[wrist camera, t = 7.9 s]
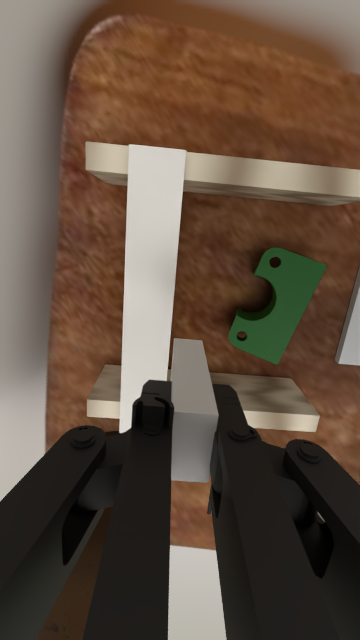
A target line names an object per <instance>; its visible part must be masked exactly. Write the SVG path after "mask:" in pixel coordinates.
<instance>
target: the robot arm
mask: <svg viewBox="0 0 360 640" xmlns="http://www.w3.org/2000/svg"><path fill="white" fill-rule="evenodd" d="M210 473H211V481H212V484H211V490H210V497H209V504H208V511H207V514H211V510H212V518H213V527H214V535H215V544H216V552H217V560H218V569H219V578H220V586H221V595H222V603H223V612H224V620H225V629H226V637H227V640H360V485H359V484H358V483H357V482H356V481H355V480H354V479H353V478H352V477H351V476H350V475H349V474H348V473H347V472H346V471H345V470H344V469H343V468H342V467H341V466H340V465H339V464H338V463H337V462H336V461H335V460H334V459H333V457H332V456H331V455H330V454H329V453H328V452H327V451H325V450H324V449H323V448H322V447H320V446H319V445H317V444H315V443H313V442H310V441H307V440H301V439H295V440H292V441H289V442H288V444H287V445H286V449H284V448H280V447H277V446H274V445H271V444H268V443H265V442H263V441H262V440H261V438H260V435H259V434H258V432H257V431H256V430H255V429H254V428H252V427H251V426H249V425H248V423H247V420H246V417H245V414H244V412H243V409H242V406H241V403H240V400H239V398H238V395H237V392H236V391H235V390H234V389H233V388H232V387H231V386H230V385H225V384H212V383H211V378H210V374H209V369H208V365H207V360H206V355H205V351H204V346H203V342H202V340H191V339H178V338H174V345H173V356H172V367H171V378H170V381H161V380H148V381H147V382H146V383H145V384H144V385H143V388H142V392H141V397H139V398H138V399H136V400H135V401H134V403H133V404H132V422H131V428H130V429H129V430H127V431H126V432H123V433H121V434H117V435H112V436H106V435H105V433H104V432H103V431H102V429H100V428H97V427H95V426H87V425H86V426H79V427H76V428H73V429H71V430H69V431H68V432H66V433H65V434H64V435H63V436H62V437H61V438H60V439H59V440H58V441H57V442H56V443H55V444H54V445H53V446H52V447H51V448H50V450H49V451H48V452H47V453H46V454H45V455H44V456H43V457H42V458H41V459H40V460H39V461H38V462H37V463H36V464H35V465H34V466H33V468H32V469H31V470H30V471H29V472H28V473H27V474H26V475H25V476H24V477H23V478H22V479H21V480H20V481H19V482H18V483H17V485H15V487H14V488H13V489H12V490H11V491H10V492H9V493H8V494H7V495H6V496H5V497H4V498H3V499H2V500H1V502H0V640H35V639H36V637H37V635H38V634H39V632H40V630H41V628H42V626H43V624H44V622H45V621H46V619H47V617H48V615H49V613H50V611H51V609H52V607H53V606H54V604H55V602H56V600H57V598H58V596H59V594H60V593H61V591H62V589H63V587H64V585H65V583H66V581H67V579H68V578H69V576H70V574H71V572H72V570H73V568H74V566H75V564H76V563H77V561H78V559H79V557H80V555H81V553H82V551H83V550H84V548H85V546H86V544H87V542H88V540H89V538H90V536H91V535H92V533H93V531H94V529H95V527H96V525H97V523H98V521H99V520H100V518H101V516H102V514H103V511H104V508H108V507H112V506H113V509H112V513H111V517H110V522H109V526H108V530H107V535H106V539H105V543H104V548H103V552H102V556H101V561H100V565H99V570H98V574H97V578H96V583H95V587H94V591H93V596H92V600H91V604H90V609H89V613H88V617H87V622H86V626H85V630H84V635H83V639H82V640H168V596H169V594H168V593H169V552H170V510H171V480H175V481H191V482H206V483H209V476H210ZM318 513H319V514H320V515H321V517H322V518H323V519H322V518H321V517H320V516H319V514H318ZM324 521H325V522H324Z"/></svg>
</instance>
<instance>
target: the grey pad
mask: <svg viewBox="0 0 360 640" xmlns="http://www.w3.org/2000/svg"><path fill="white" fill-rule="evenodd" d="M335 361H336V362H337V363H338V364H349V365H360V267H359V270H358V274H357V278H356V282H355V285H354V289H353V293H352V297H351V300H350V304H349V308H348V311H347V315H346V319H345V323H344V326H343V330H342V334H341V337H340V341H339V345H338V349H337V352H336V356H335Z"/></svg>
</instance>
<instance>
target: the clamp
mask: <svg viewBox="0 0 360 640" xmlns="http://www.w3.org/2000/svg"><path fill="white" fill-rule="evenodd" d="M273 257H277V258H279V260H280V263H279V265H278V266H277V267H275V268H273V267H271V266H270V264H269V262H270V259H271V258H273ZM327 266H328V265H325V264H322V263H320V262H317V261H314V260H312V259H309V258H306V257H304V256H301V255H298V254H296V253H293V252H290V251H287V250H285V249H282V248H278V247H275V248H271V249H268V250H267V251H265V252H264V253H263V255H262V257H261V259H260V261H259V264H258V266H257V268H255V270H254V272H253V273H254V275H257V276H261V277H263V278H265V279H267V280H268V281H269V282H270V283H271V285H272V288H273V296H272V299H271V301H270V303H269V305H268V306H267V307H266V308H264V309H263V310H261V311H258V312H254V313H250V312H245V311H243V310H241V309H239V308H238V309H237V311H236V316H235V319H234V321H233V323H232V326H231V328H230V331H229V341H230V343H231V344H232V345H233V346H234V347H236V348H238V349H241V350H243V351H245V352H248V353H250V354H252V355H255V356H257V357H260V358H262V359H264V360H267V361H269V362H271V363H274V364H276V365H277V364H278V362H279V361H280V359H281V357H282V355H283V353H284V351H285V349H286V347H287V345H288V343H289V341H290V339H291V337H292V335H293V333H294V331H295V329H296V327H297V325H298V323H299V321H300V319H301V317H302V315H303V313H304V311H305V309H306V307H307V305H308V303H309V301H310V299H311V297H312V295H313V293H314V291H315V289H316V287H317V285H318V283H319V281H320V279H321V277H322V275H323V273H324V271H325V269H326V268H327ZM241 331H243V332H245V333H246V334H247V336H246V337H244V338H240V337H238V335H237V333H238V332H241Z"/></svg>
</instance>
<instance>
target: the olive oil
mask: <svg viewBox="0 0 360 640" xmlns="http://www.w3.org/2000/svg"><path fill="white" fill-rule="evenodd" d="M117 434H121V433H119V432H110V433H105V435H106V436H112V435H117ZM112 509H113V506H112V507H108V508H104V511H103V514H102V516H101V518H100V520H99V521H98V523H97V525H96V527H95V529H94V531H93V533H92V535H91V536H90V538H89V540H88V542H87V544H86V546H85V548H84V550H83V551H82V553H81V555H80V557H79V559H78V561H77V563H76V564H75V566H74V568H73V570H72V572H71V574H70V576H69V578H68V579H67V581H66V583H65V585H64V587H63V589H62V591H61V593H60V594H59V596H58V598H57V600H56V602H55V604H54V606H53V607H52V609H51V611H50V613H49V615H48V617H47V619H46V621H45V622H44V624H43V626H42V628H41V630H40V632H39V634H38V635H37V637H36V639H35V640H82V639H83V635H84V630H85V626H86V622H87V617H88V613H89V609H90V604H91V600H92V596H93V591H94V587H95V583H96V578H97V574H98V570H99V565H100V561H101V556H102V552H103V548H104V543H105V539H106V535H107V530H108V526H109V522H110V517H111V513H112Z"/></svg>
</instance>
